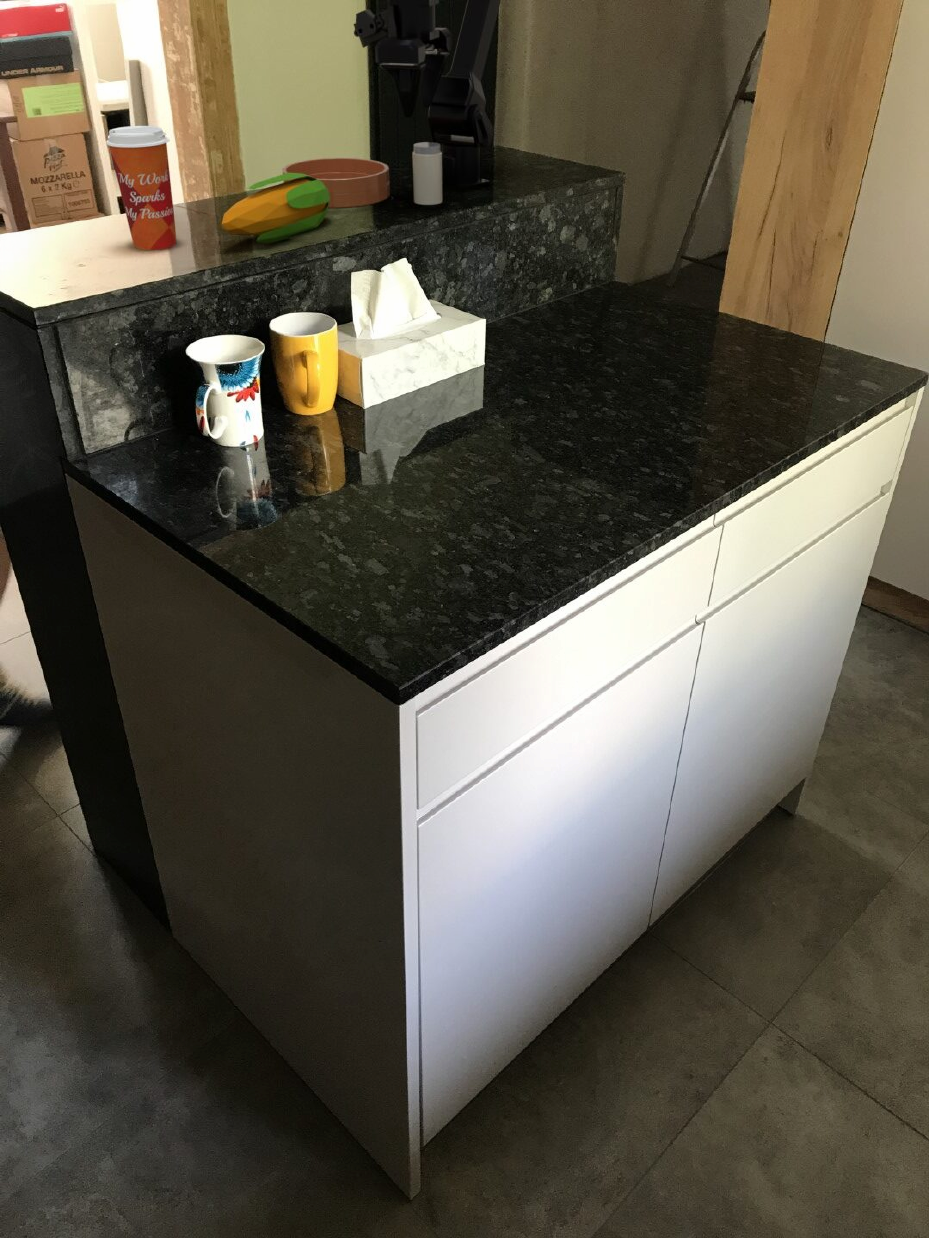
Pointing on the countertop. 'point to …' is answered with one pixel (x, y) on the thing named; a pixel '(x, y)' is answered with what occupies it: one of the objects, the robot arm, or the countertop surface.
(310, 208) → the corn
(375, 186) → the bowl
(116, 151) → the paper cup
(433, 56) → the robot arm
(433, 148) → the cylinder
